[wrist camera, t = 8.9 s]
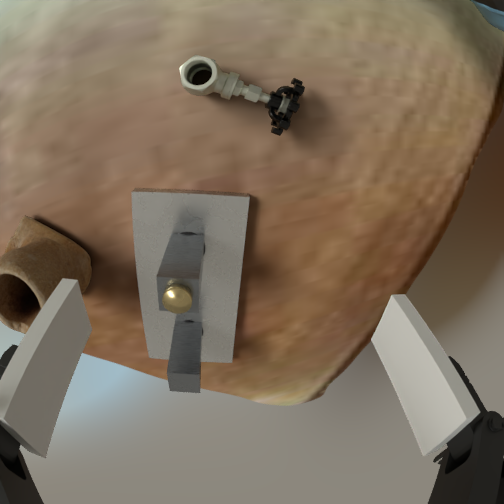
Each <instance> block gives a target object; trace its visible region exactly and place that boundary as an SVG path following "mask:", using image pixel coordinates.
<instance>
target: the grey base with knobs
mask: <svg viewBox="0 0 504 504" xmlns="http://www.w3.org/2000/svg"><path fill="white" fill-rule="evenodd" d="M249 199H250V197H249V194H245V193H231V192H216V191H198V190H176V189H145V188H135V189H134V190H133V191H132V217H133V234H134V248H135V260H136V270H137V280H138V288H139V296H140V304H141V311H142V318H143V325H144V331H145V337H146V342H147V348H148V353H149V358H157V359H168V360H169V362H168V369H167V376H168V382H169V388H170V391H179V392H193V393H194V392H195V393H200V379H201V362H226V363H232V358H233V348H234V338H235V329H236V319H237V309H238V300H239V291H240V281H241V272H242V263H243V253H244V244H245V235H246V226H247V217H248V208H249ZM171 234H189V235H204V254H203V271H202V281H201V293H200V304H199V313H188V312H185V313H181V314H176V313H172V312H170V311H159V303H158V292H157V278H156V276H157V273H158V270H159V268H160V265H161V262H162V259H163V256H164V253H165V250H166V248H167V245H168V242H169V239H170V237H171Z"/></svg>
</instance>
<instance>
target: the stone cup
mask: <svg viewBox="0 0 504 504" xmlns="http://www.w3.org/2000/svg"><path fill="white" fill-rule="evenodd" d="M90 263H91V259H90V256H89V255H88V253H87V252H86V251H85V250H84V249H83V248H82V247H80V246H79V245H78V244H76V243H75V242H74V241H72V240H71V239H69V238H67V237H66V236H64V235H62V234H60V233H58V232H56V231H55V230H53V229H51V228H49V227H47V226H45V225H43V224H41V223H40V222H38V221H36V220H34V219H33V218H31V217H28V216H24V217H23V218H22V220H21V221H20V223H19V226H18V227H17V229H16V232H15V235H14V236H13V237H12V238H11V239H10V241H9V242H8V244H7V247H6V251H5V254H4V255H2V256H1V257H0V321H2V323H3V324H5V325H6V326H8V327H9V328H11V329H13V330H16V331H19V332H22V333H24V334H26V333H27V331H28V329H29V328H30V326H31V324H32V323H33V321H34V320H35V318H36V317H37V315H38V314H39V312H40V310H41V309H42V307H43V306H44V304H45V303H46V301H47V300H48V299H49V297H50V296H51V294H52V293H53V291H54V290H55V288H56V287H57V286H58V284H59V283H60V281H61V280H62V279H63V278H65V279H74V280H78V283H79V287H80V291H81V294H83V292H84V291H85V290H86V288H87V286H88V285H89V282H90V279H91V274H92V267H91V265H90Z"/></svg>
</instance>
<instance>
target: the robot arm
mask: <svg viewBox="0 0 504 504" xmlns="http://www.w3.org/2000/svg"><path fill="white" fill-rule="evenodd" d="M470 1H472V2H473V3H474V4H475V6H476V7H477V8H478V10H479V11H480V13H481V14H482V15H483V17H484V18H485V19H486V20H487V21H488V22H489V23H490V24H491V25H493V26H494V27H496V28H498V29H499V30H501V31H504V0H470ZM91 331H92V328H91V325H90V322H89V318H88V315H87V312H86V308H85V305H84V301H83V298H82V294H81V291H80V287H79V283H78V280H74V279H65V278H63V279H62V280H61V281H60V283H59V284H58V286H57V287H56V288H55V290H54V291H53V293H52V294H51V296H50V297H49V299H48V300H47V301H46V303H45V304H44V306H43V307H42V309H41V310H40V312H39V314H38V315H37V317H36V318H35V320H34V321H33V323H32V324H31V326H30V328H29V329H28V331H27V333H26V334H25V336H24V338H23V339H22V341H21V343H20V345H19V346H17V345H12V346H11V347H10V348H9V349H8V350H7V351H5V352H4V354H3V355H2V357H1V359H0V504H44V503H43V501H42V499H41V497H40V495H39V493H38V491H37V489H36V486H35V484H34V482H33V480H32V478H31V475H30V473H29V470H28V468H27V465H26V463H25V460H24V457H23V455H22V453H21V451H20V450H19V448H20V445H22V446H23V447H24V448H26V449H27V450H28V451H29V452H32V453H34V454H36V455H39V456H41V457H44V458H46V454H47V451H48V447H49V444H50V440H51V436H52V433H53V430H54V427H55V424H56V421H57V418H58V414H59V412H60V409H61V406H62V403H63V400H64V397H65V395H66V392H67V389H68V387H69V384H70V381H71V379H72V376H73V374H74V371H75V369H76V366H77V364H78V361H79V359H80V356H81V354H82V352H83V349H84V347H85V345H86V342H87V340H88V338H89V336H90V333H91ZM371 340H372V342H373V344H374V346H375V348H376V351H377V353H378V355H379V357H380V359H381V361H382V363H383V365H384V367H385V369H386V371H387V374H388V376H389V378H390V380H391V382H392V384H393V387H394V389H395V391H396V393H397V395H398V398H399V400H400V402H401V404H402V407H403V409H404V411H405V414H406V416H407V418H408V421H409V423H410V425H411V428H412V430H413V433H414V435H415V437H416V440H417V442H418V445H419V447H420V450H421V453H422V455H423V456H426V455H428V454H430V453H433V452H436V451H437V450H439V449H440V448H441V447H443V446H444V445H445V444H447V446H448V448H447V449H445V450H444V451H443V452H441V453H440V454H439V455H438V456H436V457H435V459H434V461H433V462H436V461H438V460H439V459H440V458H442V457H443V458H442V460H440V461H439V463H438V464H441V465H440V469H439V472H438V475H437V479H436V482H435V485H434V488H433V491H432V493H431V496H430V499H429V502H428V504H504V458H503V456H504V418H502V417H501V415H500V414H498V413H497V412H495V411H489V412H488V411H487V410H486V409H485V407H484V405H483V403H482V402H481V400H480V398H479V397H478V395H477V393H476V391H475V390H474V388H473V386H472V384H471V383H469V379H468V378H467V376H465V373H464V371H463V370H462V368H461V367H460V365H459V364H458V363H457V362H456V361H455V360H454V359H453V358H452V357H450V356H449V357H448V356H447V355H446V353H445V352H444V350H443V349H442V347H441V346H440V344H439V342H438V341H437V339H436V338H435V336H434V335H433V333H432V332H431V330H430V329H429V327H428V326H427V325H426V323H425V322H424V320H423V319H422V317H421V316H420V315H419V313H418V312H417V310H416V309H415V308H414V306H413V305H412V303H411V302H410V301H409V299H408V298H407V297H406V295H391V298H390V300H389V302H388V305H387V307H386V309H385V311H384V314H383V316H382V318H381V320H380V322H379V324H378V326H377V329H376V331H375V333H374V335H373V337H372V339H371Z"/></svg>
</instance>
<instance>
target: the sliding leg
mask: <svg viewBox="0 0 504 504" xmlns="http://www.w3.org/2000/svg"><path fill="white" fill-rule="evenodd" d="M203 254H204V235H189V234H171V237H170V239H169V242H168V245H167V248H166V250H165V253H164V256H163V259H162V262H161V265H160V268H159V270H158V273H157V276H156V278H157V292H158V303H159V311H170V312H172V313H176V314H181V313H185V312H188V313H199V304H200V293H201V281H202V271H203Z"/></svg>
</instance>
